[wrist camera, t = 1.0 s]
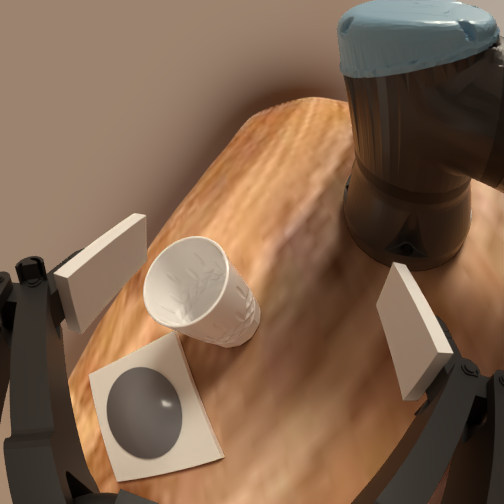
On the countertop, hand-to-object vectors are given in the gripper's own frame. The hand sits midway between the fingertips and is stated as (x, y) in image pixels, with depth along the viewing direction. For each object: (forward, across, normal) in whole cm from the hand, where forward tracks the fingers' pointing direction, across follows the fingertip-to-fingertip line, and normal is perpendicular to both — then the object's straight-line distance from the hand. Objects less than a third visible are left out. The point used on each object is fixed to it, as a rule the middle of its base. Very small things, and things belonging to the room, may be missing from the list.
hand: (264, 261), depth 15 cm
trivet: (+2, -10, -23) cm, 25 cm away
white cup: (+11, -3, -13) cm, 18 cm away
